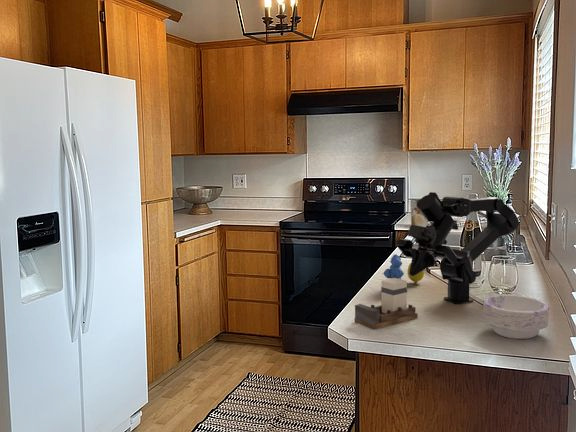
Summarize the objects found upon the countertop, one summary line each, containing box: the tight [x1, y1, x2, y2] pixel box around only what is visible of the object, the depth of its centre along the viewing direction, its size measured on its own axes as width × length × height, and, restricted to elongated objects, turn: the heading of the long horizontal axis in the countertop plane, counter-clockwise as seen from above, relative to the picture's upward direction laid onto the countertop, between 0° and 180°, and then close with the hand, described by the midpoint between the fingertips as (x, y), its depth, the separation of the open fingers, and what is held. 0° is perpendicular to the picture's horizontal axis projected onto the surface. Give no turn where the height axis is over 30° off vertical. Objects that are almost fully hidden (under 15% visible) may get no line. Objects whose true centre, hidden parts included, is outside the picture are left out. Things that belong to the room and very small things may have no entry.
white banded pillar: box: [380, 278, 408, 314], centre depth 156 cm, size 5×5×9 cm
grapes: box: [382, 253, 405, 280], centre depth 184 cm, size 12×7×12 cm, turn 176°
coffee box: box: [410, 198, 429, 227], centre depth 318 cm, size 9×6×16 cm
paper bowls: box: [482, 294, 550, 340], centre depth 141 cm, size 15×15×8 cm
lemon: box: [407, 262, 425, 284], centre depth 193 cm, size 6×6×8 cm
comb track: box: [353, 301, 419, 331], centre depth 154 cm, size 16×8×5 cm, turn 124°
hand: (410, 275), depth 159 cm, fingers closed
